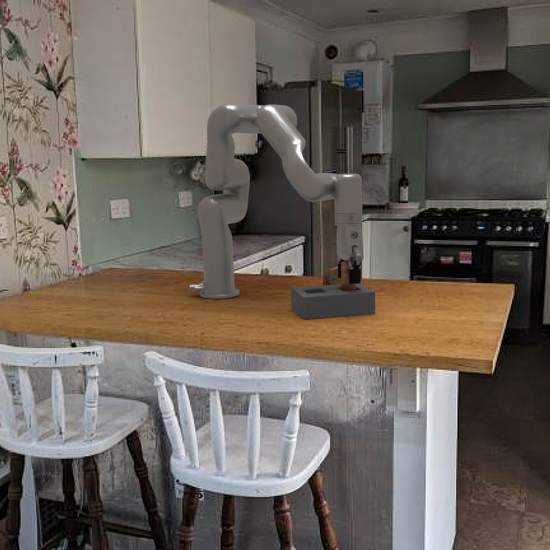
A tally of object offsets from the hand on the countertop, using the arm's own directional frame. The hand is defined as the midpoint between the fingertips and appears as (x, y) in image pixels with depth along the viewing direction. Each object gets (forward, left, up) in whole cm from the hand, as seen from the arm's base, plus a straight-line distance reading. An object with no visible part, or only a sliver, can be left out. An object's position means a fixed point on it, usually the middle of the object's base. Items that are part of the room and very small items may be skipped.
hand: (349, 280), depth 193 cm
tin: (+4, +23, -9) cm, 25 cm away
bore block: (-5, 0, -8) cm, 10 cm away
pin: (0, 0, -7) cm, 7 cm away
